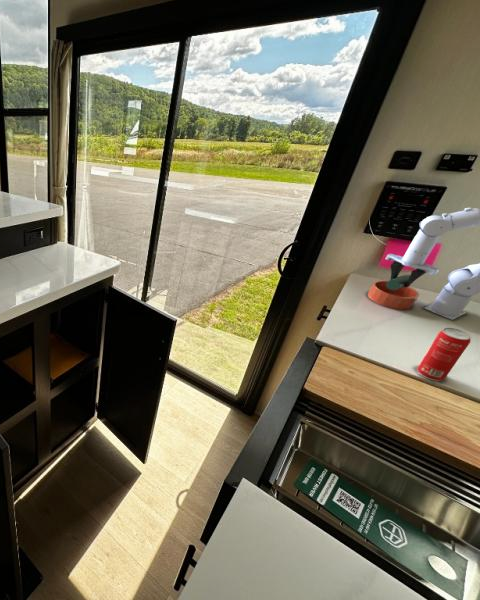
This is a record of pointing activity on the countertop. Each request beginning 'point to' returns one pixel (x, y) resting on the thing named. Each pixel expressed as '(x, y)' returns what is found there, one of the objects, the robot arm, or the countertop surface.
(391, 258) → the robot arm
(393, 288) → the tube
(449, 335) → the beverage can
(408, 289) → the bowl
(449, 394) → the countertop surface
